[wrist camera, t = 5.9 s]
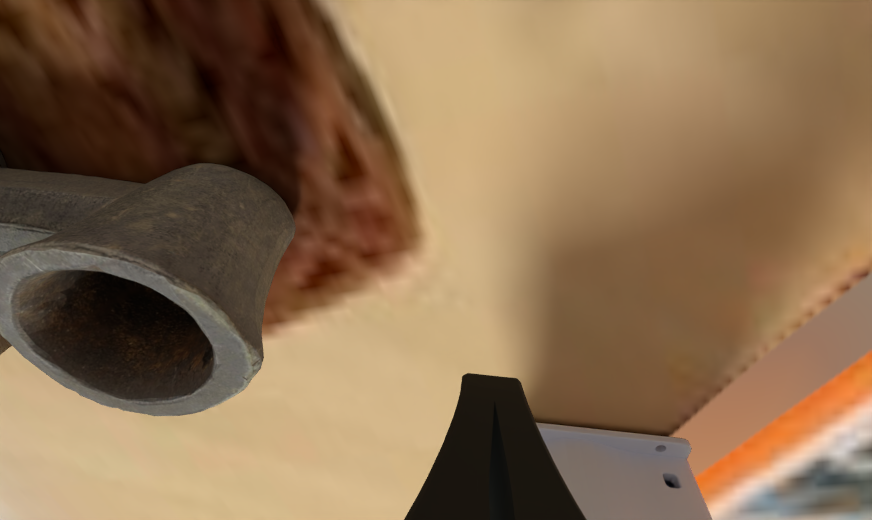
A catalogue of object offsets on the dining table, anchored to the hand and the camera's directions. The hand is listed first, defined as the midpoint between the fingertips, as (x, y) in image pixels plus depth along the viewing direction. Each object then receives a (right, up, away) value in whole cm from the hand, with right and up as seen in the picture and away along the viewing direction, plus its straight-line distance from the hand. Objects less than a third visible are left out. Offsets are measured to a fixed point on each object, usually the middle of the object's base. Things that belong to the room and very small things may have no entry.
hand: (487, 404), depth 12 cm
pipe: (-12, +6, +8) cm, 15 cm away
